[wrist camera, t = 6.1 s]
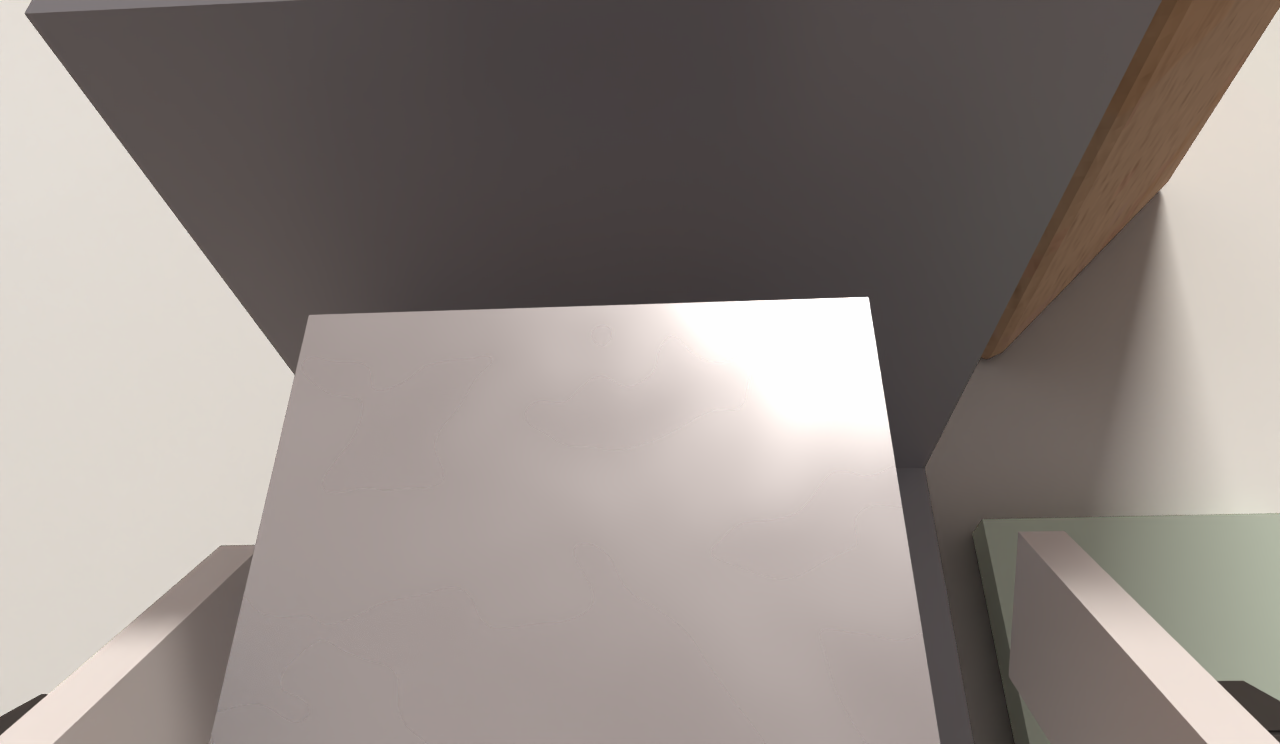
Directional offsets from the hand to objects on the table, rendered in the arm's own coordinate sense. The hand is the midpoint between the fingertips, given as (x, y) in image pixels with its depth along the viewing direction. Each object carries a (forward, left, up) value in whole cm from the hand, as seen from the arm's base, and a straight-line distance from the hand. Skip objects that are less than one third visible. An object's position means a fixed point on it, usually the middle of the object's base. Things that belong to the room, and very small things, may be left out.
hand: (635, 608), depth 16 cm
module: (0, -2, -6) cm, 7 cm away
